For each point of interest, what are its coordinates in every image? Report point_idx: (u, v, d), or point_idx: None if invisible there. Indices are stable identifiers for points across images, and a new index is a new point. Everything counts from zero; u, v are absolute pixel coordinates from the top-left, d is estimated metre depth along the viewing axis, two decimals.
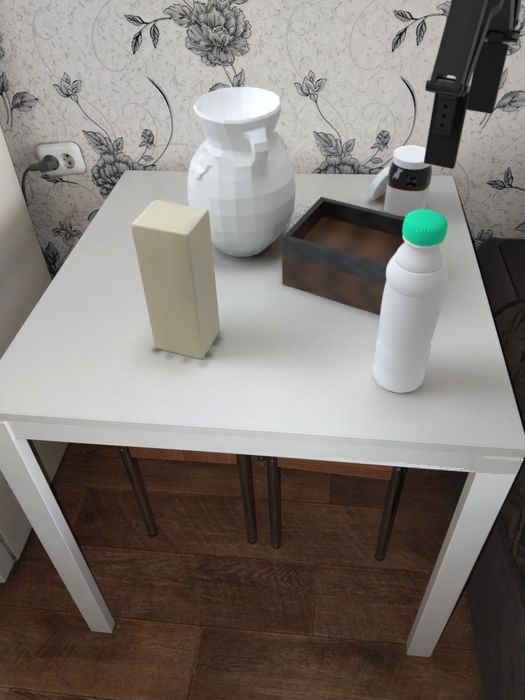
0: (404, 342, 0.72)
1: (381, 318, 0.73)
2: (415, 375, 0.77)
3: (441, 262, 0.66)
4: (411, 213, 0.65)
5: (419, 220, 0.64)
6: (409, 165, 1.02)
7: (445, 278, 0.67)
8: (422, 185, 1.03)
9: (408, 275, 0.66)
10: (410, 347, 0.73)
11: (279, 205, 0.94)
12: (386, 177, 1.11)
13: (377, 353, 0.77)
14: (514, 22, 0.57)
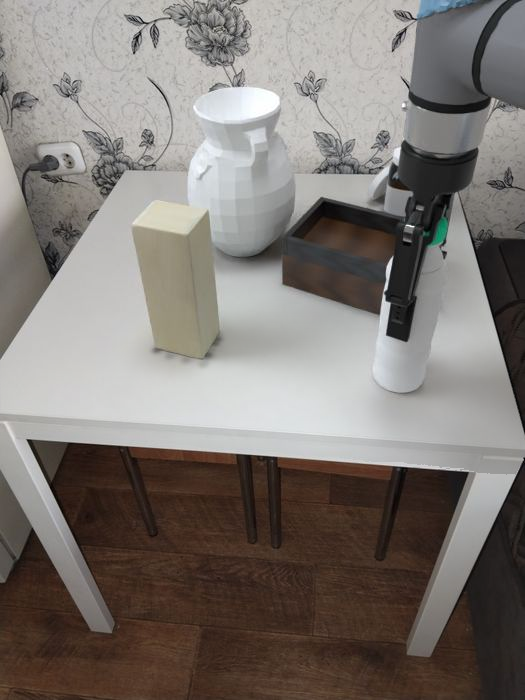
0: (404, 342, 0.72)
1: (381, 318, 0.73)
2: (416, 376, 0.77)
3: (441, 262, 0.66)
4: None
5: None
6: None
7: (445, 278, 0.67)
8: None
9: None
10: (410, 347, 0.73)
11: (279, 205, 0.94)
12: (386, 177, 1.11)
13: (377, 353, 0.77)
14: (443, 241, 0.72)
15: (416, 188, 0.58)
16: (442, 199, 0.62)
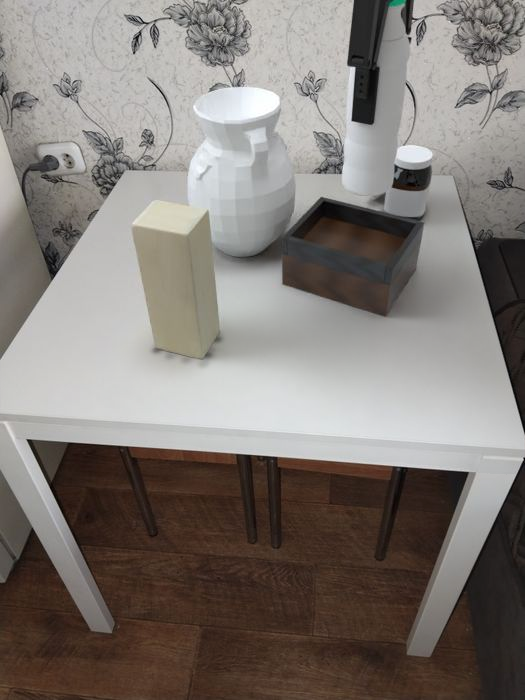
0: (370, 128, 0.73)
1: (347, 108, 0.74)
2: (383, 174, 0.78)
3: (403, 31, 0.67)
4: None
5: None
6: (409, 165, 1.02)
7: (407, 50, 0.68)
8: (422, 185, 1.03)
9: None
10: (376, 135, 0.74)
11: (279, 205, 0.94)
12: None
13: (345, 153, 0.78)
14: (407, 27, 0.73)
15: None
16: None
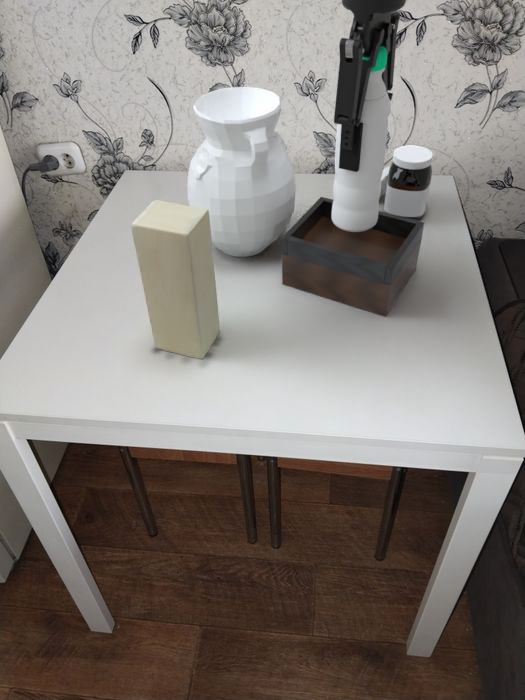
0: (355, 174, 0.82)
1: (335, 155, 0.83)
2: (368, 213, 0.86)
3: (383, 91, 0.76)
4: None
5: None
6: (409, 165, 1.02)
7: (388, 108, 0.77)
8: (422, 185, 1.03)
9: None
10: (361, 180, 0.82)
11: (279, 205, 0.94)
12: (386, 177, 1.11)
13: (334, 194, 0.87)
14: (389, 84, 0.81)
15: (356, 8, 0.68)
16: (381, 27, 0.72)
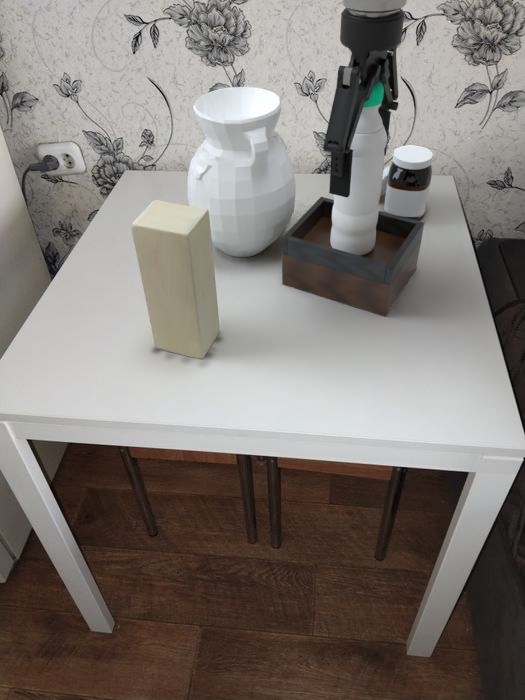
0: (353, 202, 0.85)
1: None
2: (365, 239, 0.89)
3: (380, 125, 0.79)
4: None
5: None
6: (409, 165, 1.02)
7: (384, 140, 0.80)
8: (422, 185, 1.03)
9: None
10: (358, 208, 0.85)
11: (279, 205, 0.94)
12: (386, 177, 1.11)
13: (332, 220, 0.90)
14: (394, 96, 0.85)
15: (353, 46, 0.71)
16: (378, 63, 0.75)
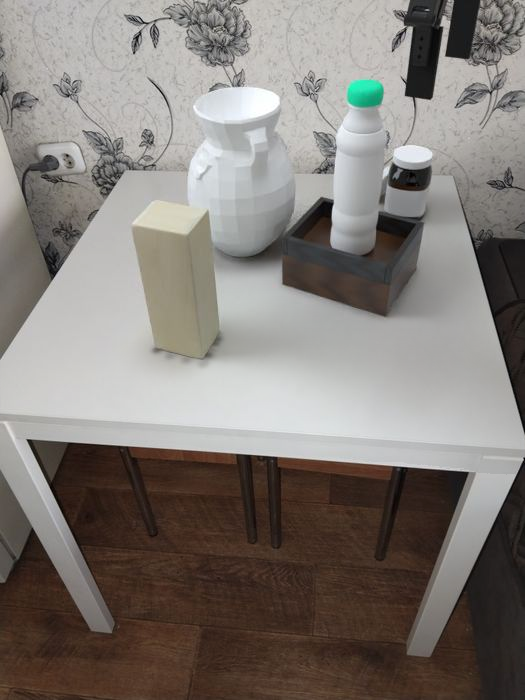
0: (353, 202, 0.85)
1: (334, 184, 0.86)
2: (365, 239, 0.89)
3: (380, 125, 0.79)
4: (354, 81, 0.77)
5: (360, 85, 0.76)
6: (409, 165, 1.02)
7: (384, 140, 0.80)
8: (422, 185, 1.03)
9: (353, 136, 0.79)
10: (358, 208, 0.85)
11: (279, 205, 0.94)
12: (386, 177, 1.11)
13: (332, 220, 0.90)
14: None
15: None
16: None
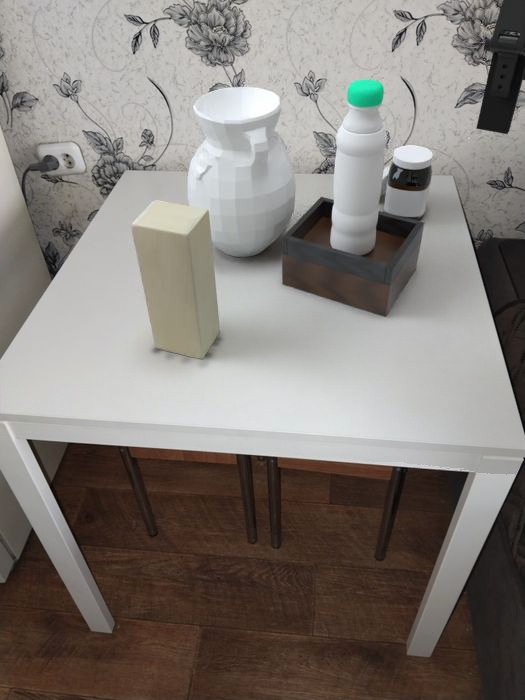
0: (353, 202, 0.85)
1: (334, 184, 0.86)
2: (365, 239, 0.89)
3: (380, 125, 0.79)
4: (354, 81, 0.77)
5: (360, 85, 0.76)
6: (409, 165, 1.02)
7: (384, 140, 0.80)
8: (422, 185, 1.03)
9: (353, 136, 0.79)
10: (358, 208, 0.85)
11: (279, 205, 0.94)
12: (386, 177, 1.11)
13: (332, 220, 0.90)
14: None
15: None
16: None
